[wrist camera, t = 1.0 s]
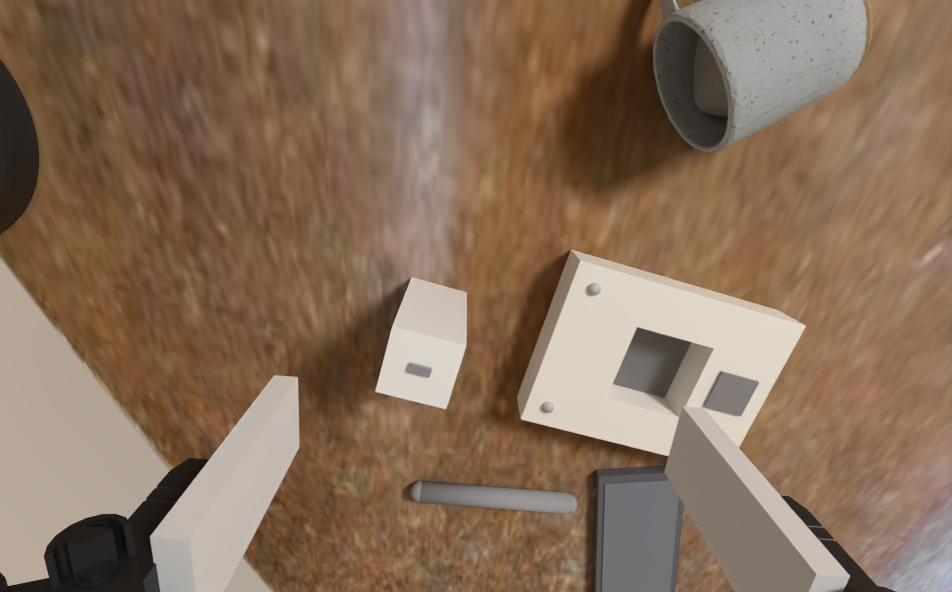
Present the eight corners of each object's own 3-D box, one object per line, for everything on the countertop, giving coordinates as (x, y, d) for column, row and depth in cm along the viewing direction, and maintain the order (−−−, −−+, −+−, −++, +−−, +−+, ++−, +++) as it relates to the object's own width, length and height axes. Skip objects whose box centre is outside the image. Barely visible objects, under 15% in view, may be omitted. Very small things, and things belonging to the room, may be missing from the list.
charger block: (398, 328, 35) (374, 393, 26) (411, 277, 33) (391, 327, 25) (451, 342, 35) (445, 411, 26) (466, 292, 34) (466, 347, 25)
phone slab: (593, 598, 43) (595, 607, 42) (596, 470, 39) (599, 477, 38) (670, 593, 43) (674, 602, 42) (682, 464, 39) (687, 472, 38)
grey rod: (411, 491, 39) (408, 506, 38) (412, 475, 39) (410, 489, 37) (572, 504, 40) (577, 519, 39) (576, 489, 40) (580, 503, 38)
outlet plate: (516, 397, 36) (521, 420, 33) (570, 249, 33) (581, 261, 30) (706, 445, 38) (727, 472, 35) (778, 310, 35) (808, 327, 31)
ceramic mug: (801, 93, 30) (908, 76, 23) (677, 153, 31) (741, 156, 24) (753, -89, 27) (859, -176, 20) (618, -16, 28) (670, -72, 21)
